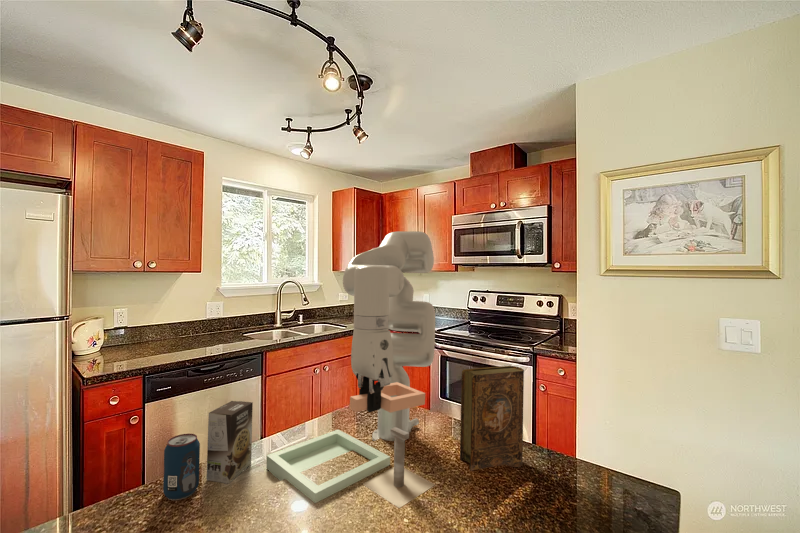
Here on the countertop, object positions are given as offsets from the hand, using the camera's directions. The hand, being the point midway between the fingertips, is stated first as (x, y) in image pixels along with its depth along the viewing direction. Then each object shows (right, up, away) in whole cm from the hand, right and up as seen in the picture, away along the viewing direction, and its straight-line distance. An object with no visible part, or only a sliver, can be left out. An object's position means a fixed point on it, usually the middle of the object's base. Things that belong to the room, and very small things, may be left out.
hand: (369, 407), depth 80 cm
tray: (-12, -21, +14) cm, 28 cm away
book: (+31, -22, +17) cm, 41 cm away
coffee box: (-36, -21, +12) cm, 43 cm away
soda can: (-43, -21, +3) cm, 47 cm away
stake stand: (+6, -21, +5) cm, 23 cm away
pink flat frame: (+3, 0, +2) cm, 4 cm away
